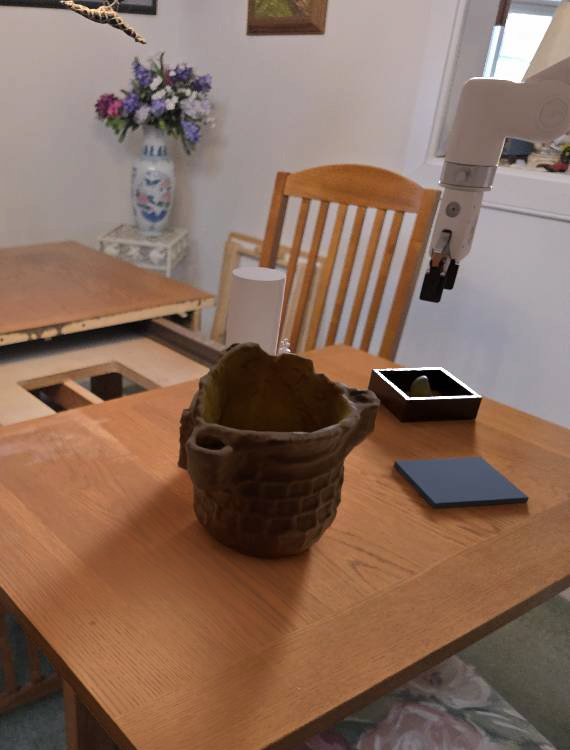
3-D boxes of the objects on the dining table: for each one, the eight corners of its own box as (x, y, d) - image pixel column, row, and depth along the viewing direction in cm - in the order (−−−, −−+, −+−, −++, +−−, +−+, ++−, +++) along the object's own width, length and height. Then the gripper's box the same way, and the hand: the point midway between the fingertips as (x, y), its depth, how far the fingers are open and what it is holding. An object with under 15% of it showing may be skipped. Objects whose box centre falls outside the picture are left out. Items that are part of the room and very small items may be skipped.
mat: (479, 461, 106) (481, 456, 106) (527, 502, 96) (529, 497, 96) (393, 465, 104) (394, 460, 103) (433, 508, 94) (435, 503, 93)
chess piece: (279, 403, 121) (288, 345, 115) (258, 393, 124) (265, 337, 118) (297, 396, 124) (306, 340, 118) (276, 387, 127) (284, 332, 121)
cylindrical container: (206, 442, 107) (221, 271, 93) (237, 429, 111) (255, 264, 97) (242, 459, 103) (263, 283, 89) (272, 445, 107) (297, 275, 93)
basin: (436, 388, 130) (441, 367, 128) (475, 419, 119) (482, 397, 117) (367, 390, 127) (371, 369, 125) (401, 422, 116) (407, 399, 114)
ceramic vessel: (388, 570, 67) (259, 339, 62) (201, 622, 83) (84, 441, 78) (434, 470, 84) (335, 280, 78) (270, 529, 100) (178, 374, 94)
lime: (416, 397, 126) (423, 370, 123) (439, 406, 123) (446, 379, 120) (400, 402, 124) (407, 374, 121) (422, 412, 120) (429, 384, 118)
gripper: (483, 186, 97) (448, 311, 107) (502, 174, 110) (470, 287, 119) (428, 179, 100) (399, 301, 110) (453, 169, 112) (425, 280, 122)
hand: (436, 294), depth 114 cm, fingers open, 9 cm apart
